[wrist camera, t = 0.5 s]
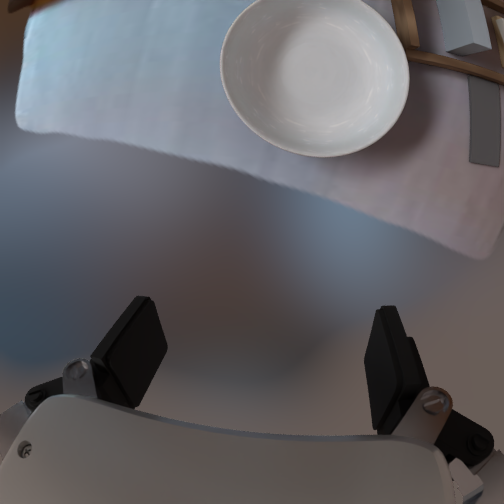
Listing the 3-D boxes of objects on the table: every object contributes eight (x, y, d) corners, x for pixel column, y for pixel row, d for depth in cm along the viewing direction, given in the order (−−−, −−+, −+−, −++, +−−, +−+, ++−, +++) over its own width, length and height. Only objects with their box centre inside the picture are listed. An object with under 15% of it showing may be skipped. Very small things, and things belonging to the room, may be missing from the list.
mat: (467, 75, 26) (469, 75, 25) (496, 84, 24) (498, 84, 24) (469, 161, 31) (470, 162, 31) (496, 166, 30) (498, 166, 30)
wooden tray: (383, -30, 21) (391, -43, 17) (517, 16, 16) (532, 12, 12) (400, 59, 27) (412, 53, 23) (531, 96, 23) (547, 98, 19)
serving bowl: (391, 18, 25) (407, 2, 19) (385, 160, 34) (402, 170, 28) (235, 4, 27) (223, -15, 21) (231, 145, 37) (217, 151, 31)
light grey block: (434, -6, 21) (456, -24, 14) (451, -1, 20) (475, -16, 13) (445, 51, 25) (473, 42, 18) (462, 56, 24) (491, 49, 17)
